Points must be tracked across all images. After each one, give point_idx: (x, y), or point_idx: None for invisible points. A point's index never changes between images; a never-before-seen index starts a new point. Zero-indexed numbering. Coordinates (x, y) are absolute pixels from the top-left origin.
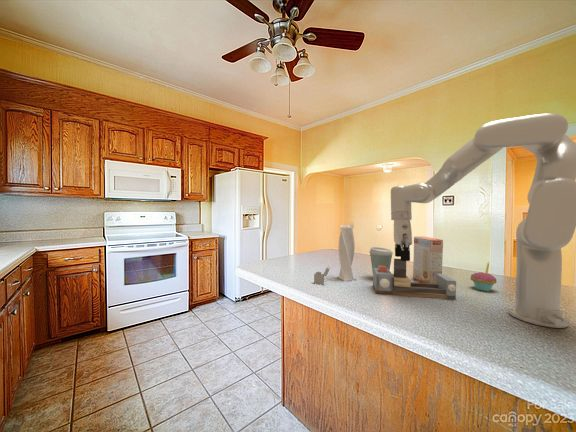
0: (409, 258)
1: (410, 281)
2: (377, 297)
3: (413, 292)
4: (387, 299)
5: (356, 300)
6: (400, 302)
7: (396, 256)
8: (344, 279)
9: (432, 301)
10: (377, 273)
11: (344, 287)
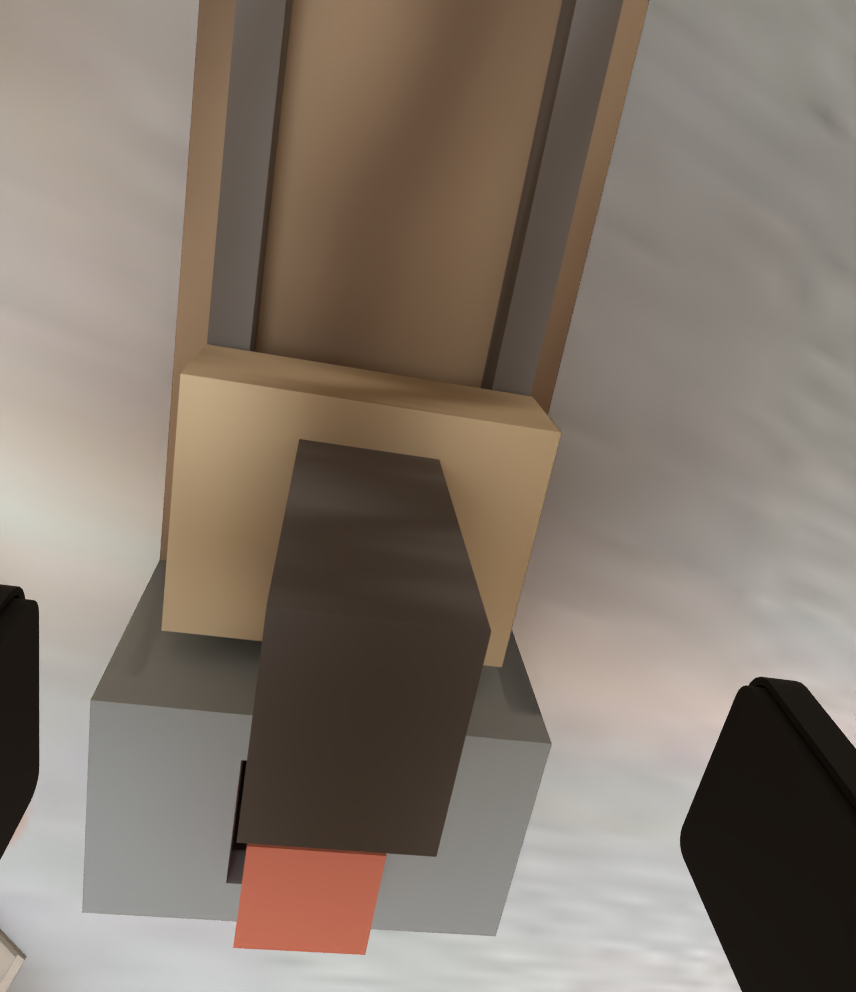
0: (826, 730)
1: (552, 424)
2: (568, 745)
3: (550, 350)
4: (628, 669)
5: (639, 920)
6: (720, 572)
7: (28, 760)
8: (10, 983)
9: (726, 170)
10: (477, 923)
11: (264, 974)
